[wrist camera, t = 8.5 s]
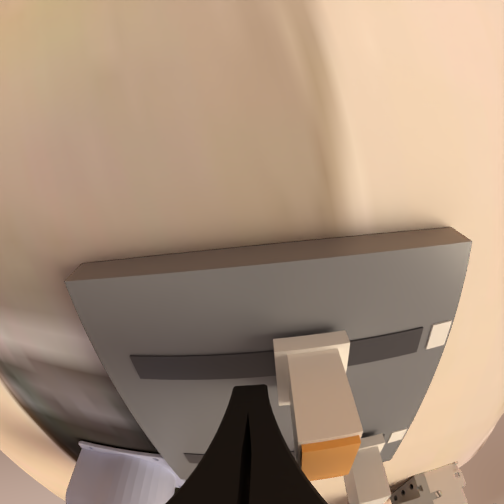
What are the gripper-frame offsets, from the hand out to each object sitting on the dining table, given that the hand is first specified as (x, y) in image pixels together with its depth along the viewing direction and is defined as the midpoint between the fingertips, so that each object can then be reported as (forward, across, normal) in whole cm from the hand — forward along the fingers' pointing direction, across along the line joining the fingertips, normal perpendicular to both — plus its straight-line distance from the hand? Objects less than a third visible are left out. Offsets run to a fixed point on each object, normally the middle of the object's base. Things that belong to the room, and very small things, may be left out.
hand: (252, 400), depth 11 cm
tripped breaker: (+2, -2, 0) cm, 3 cm away
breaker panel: (+4, -1, +5) cm, 6 cm away
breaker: (+2, -6, +10) cm, 12 cm away
